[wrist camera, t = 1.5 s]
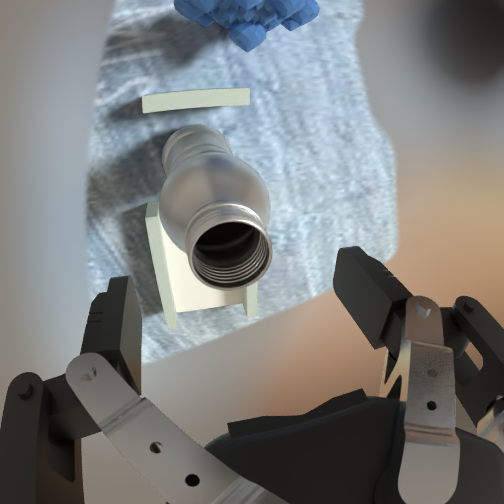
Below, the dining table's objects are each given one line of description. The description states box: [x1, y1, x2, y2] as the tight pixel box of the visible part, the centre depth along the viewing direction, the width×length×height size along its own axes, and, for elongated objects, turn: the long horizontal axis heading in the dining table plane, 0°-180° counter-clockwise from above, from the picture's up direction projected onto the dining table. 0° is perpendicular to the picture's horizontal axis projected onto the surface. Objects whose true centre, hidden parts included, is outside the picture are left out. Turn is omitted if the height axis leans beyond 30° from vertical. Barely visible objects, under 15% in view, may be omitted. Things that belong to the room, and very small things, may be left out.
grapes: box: [174, 0, 320, 52], centre depth 19 cm, size 12×7×12 cm, turn 88°
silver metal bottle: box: [158, 124, 272, 291], centre depth 21 cm, size 6×7×20 cm
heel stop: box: [142, 88, 250, 113], centre depth 25 cm, size 2×9×4 cm, turn 90°
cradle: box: [145, 201, 257, 329], centre depth 34 cm, size 14×11×4 cm
